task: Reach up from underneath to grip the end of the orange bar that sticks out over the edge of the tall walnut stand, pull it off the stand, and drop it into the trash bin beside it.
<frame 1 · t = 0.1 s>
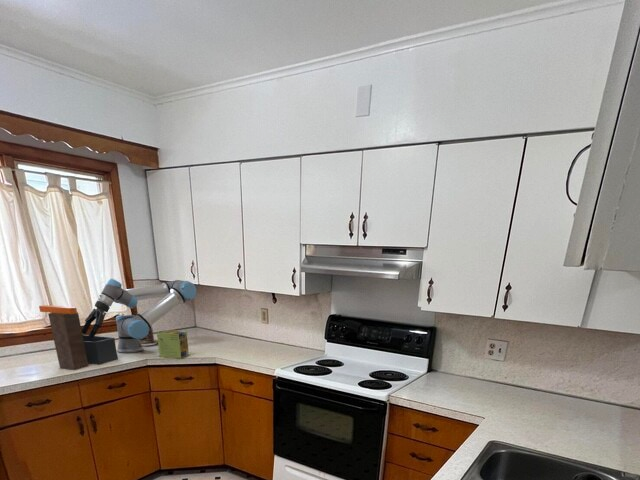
hand: (86, 335, 250), 15 cm above the worktop, tool tilted 35°, fingers open, 13 cm apart
stand: (74, 367, 241), on the worktop
orange bar: (58, 312, 230), point 30 cm above the worktop, touching stand
jar: (145, 342, 311), on the worktop
protein box: (174, 356, 274), on the worktop
trash bin: (92, 359, 258), on the worktop
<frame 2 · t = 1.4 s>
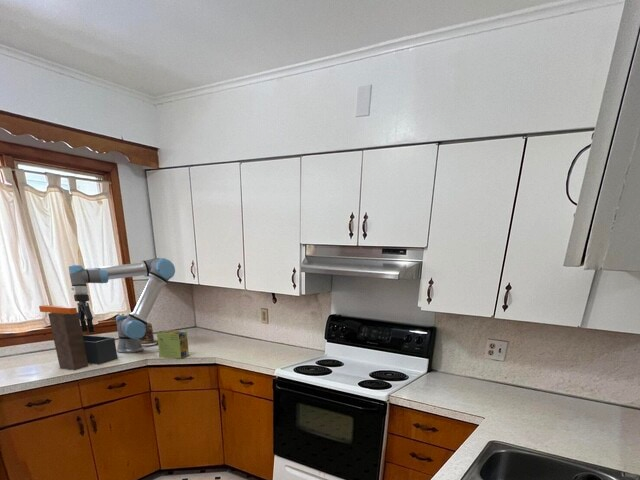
hand: (88, 332, 250), 17 cm above the worktop, tool pointing down, fingers open, 13 cm apart
nothing on the worktop moved.
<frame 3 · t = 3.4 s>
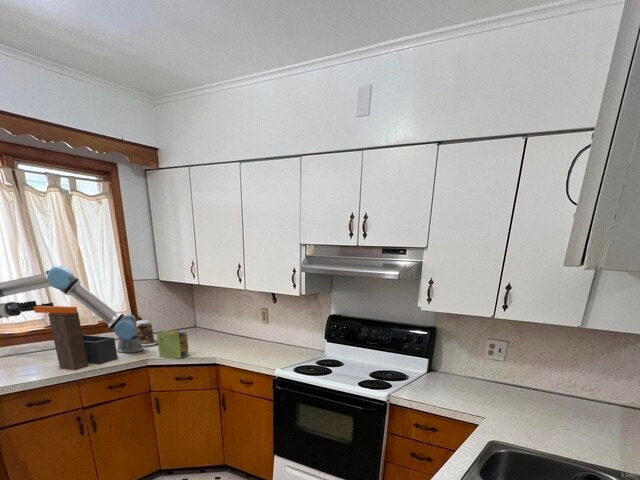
hand: (44, 304, 237), 33 cm above the worktop, tool horizontal, fingers open, 13 cm apart
orange bar: (56, 312, 230), point 30 cm above the worktop, touching stand
everything else where it was.
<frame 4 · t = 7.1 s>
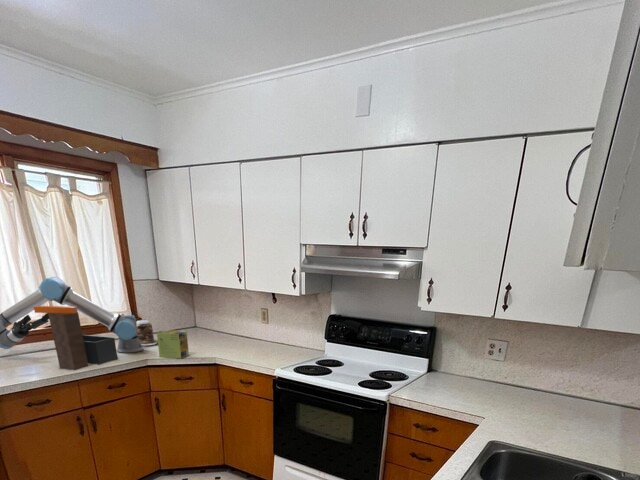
hand: (40, 315, 234), 28 cm above the worktop, tool pointing upward, fingers open, 13 cm apart
nothing on the worktop moved.
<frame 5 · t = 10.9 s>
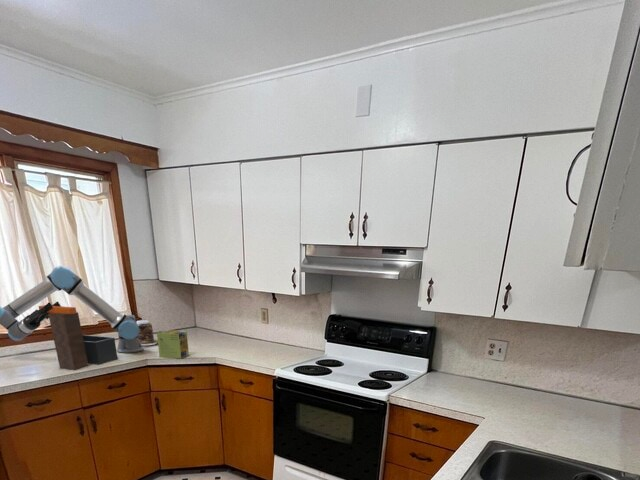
hand: (54, 304, 229), 34 cm above the worktop, tool pointing upward, fingers closed on orange bar, 4 cm apart
orange bar: (58, 312, 230), point 30 cm above the worktop, touching gripper, stand
everything else where it was.
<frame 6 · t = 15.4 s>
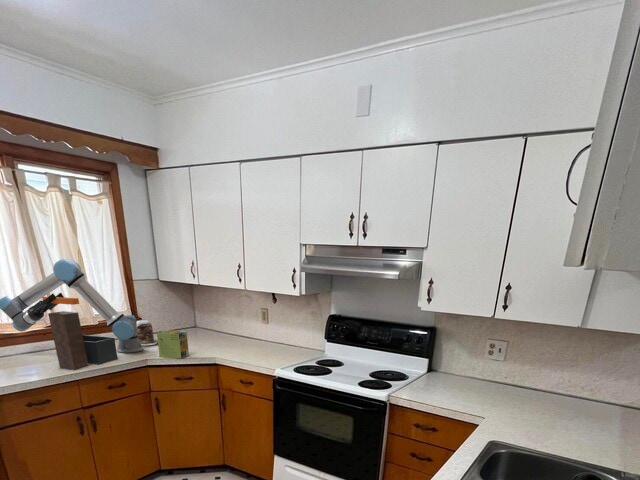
hand: (58, 295, 236), 38 cm above the worktop, tool pointing upward, fingers closed on orange bar, 4 cm apart
orange bar: (61, 303, 238), point 34 cm above the worktop, touching gripper
everything else where it was.
when the fingers open (25 cm above the worktop, at t = 20.1 s): orange bar drops 19 cm, resting on trash bin.
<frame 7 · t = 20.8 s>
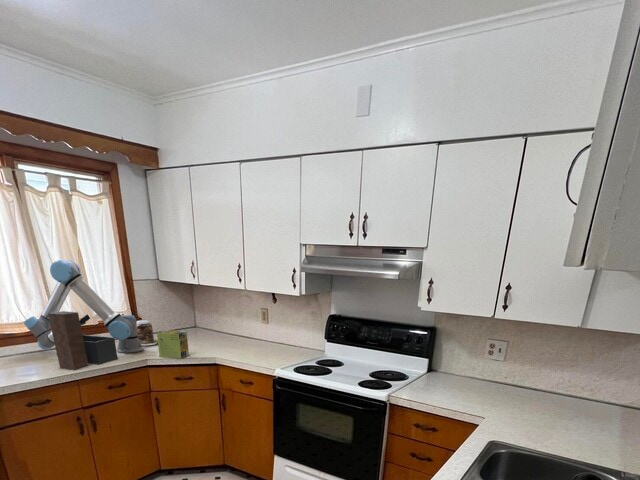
hand: (79, 317, 249), 25 cm above the worktop, tool pointing upward, fingers open, 13 cm apart
orange bar: (91, 358, 258), point 1 cm above the worktop, touching trash bin
everything else where it was.
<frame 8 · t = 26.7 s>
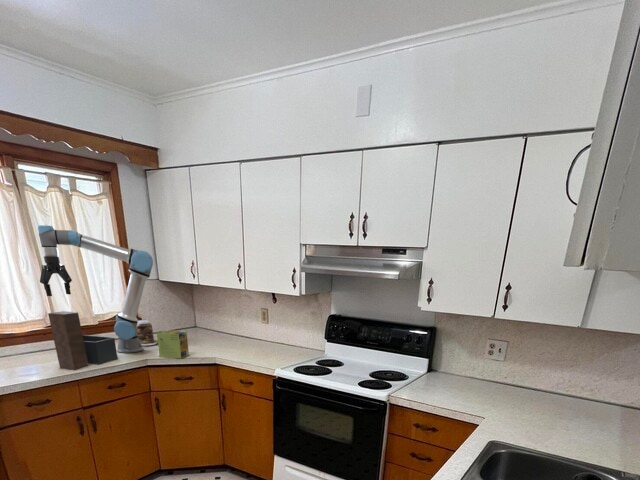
hand: (59, 295, 248), 37 cm above the worktop, tool pointing down, fingers open, 13 cm apart
nothing on the worktop moved.
at the end: orange bar inside the target area in the trash bin (0.6 cm from its centre), point 1.0 cm above the trash bin's base; the gripper is holding nothing; orange bar moved 33.9 cm from its start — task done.
